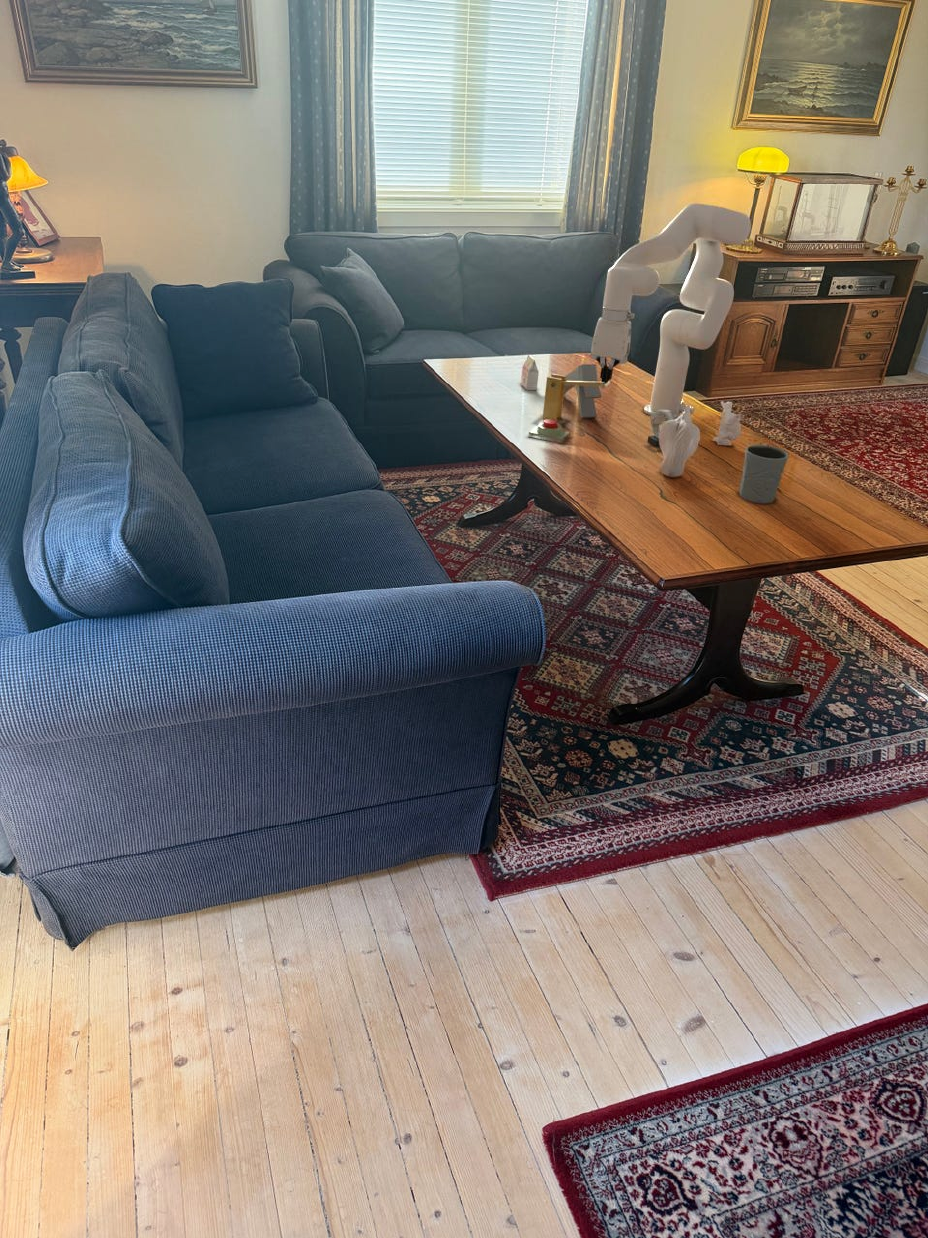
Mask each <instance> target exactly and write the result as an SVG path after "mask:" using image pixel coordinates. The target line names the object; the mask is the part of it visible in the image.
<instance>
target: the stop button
mask: <svg viewBox="0 0 928 1238" xmlns="http://www.w3.org/2000/svg"><path fill="white" fill-rule="evenodd" d="M542 423H543V427H545V428H549V429H555V428H557V424H559V423H558V420H557V421H556V420H552V419H543V422H542Z"/></svg>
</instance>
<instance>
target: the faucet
mask: <svg viewBox="0 0 928 1238" xmlns="http://www.w3.org/2000/svg"><path fill="white" fill-rule="evenodd" d="M597 371H598V370H597V364H596V363H594V364H593V363H591V364H590V363H589V364H587V363H586V364H580V365H578V366H577V368H575V369H573V370H572V371H571V372H569V373H568V374H566V375H564V376H566V381H592V382H599V381H598V372H597ZM573 388H575V390H576V395H577V396H576V397H577V402H578V404H577V405H578V417H579V418H580V419H582V420H583V419H596V418H597V417H598V416H597V410H596V403H595V399H601V398H602V393H601V389H600V386H583V385H565V391H564V396H565V395H566V394H567V393H568V391H570V390H572V389H573Z"/></svg>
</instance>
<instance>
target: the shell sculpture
mask: <svg viewBox="0 0 928 1238" xmlns="http://www.w3.org/2000/svg"><path fill="white" fill-rule="evenodd" d="M685 405H686V410H685V409H684V416H683V411H682V414H681V415H680V416H679V417H678V418H677V419H674V420H670V421H668V420H667V421H664V422H663V423H662V424H661V425H660V426H659V429H660V431H659V445H660V447H659V448H660V450H661V453H662V456H663V458H664V459H663V460H662V462H661V465H660V467H659V472H660V473H661V474H662V475H665V476H667V477H670V478H676V477H679V476H682V475H683V474H684V472H685V467H686V466H685V464H686V463H687V461H688V459H689V458H691V457H692V456H693V455H694V454H695V452H696V451H697V450H698V447H699V442H700V441H701V435H700V434H701V429H700V428H699V427H698V426H697V425H696V424H694V423H693V421H692V415H691V413H690V406H691V405H689V406H687V405H688V404H685Z"/></svg>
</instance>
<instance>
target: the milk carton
mask: <svg viewBox="0 0 928 1238" xmlns="http://www.w3.org/2000/svg"><path fill="white" fill-rule="evenodd" d="M539 374H540V373H539V370H538V367H537V364H536V359H535V358H533V357H532V356H531V354H527V357H526V359H525V361H524V363H523V365H522V367H521V377H520V385H521V386H522V387H523V388H524V389H525V390H526V391H537V390H538V381H539Z"/></svg>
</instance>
